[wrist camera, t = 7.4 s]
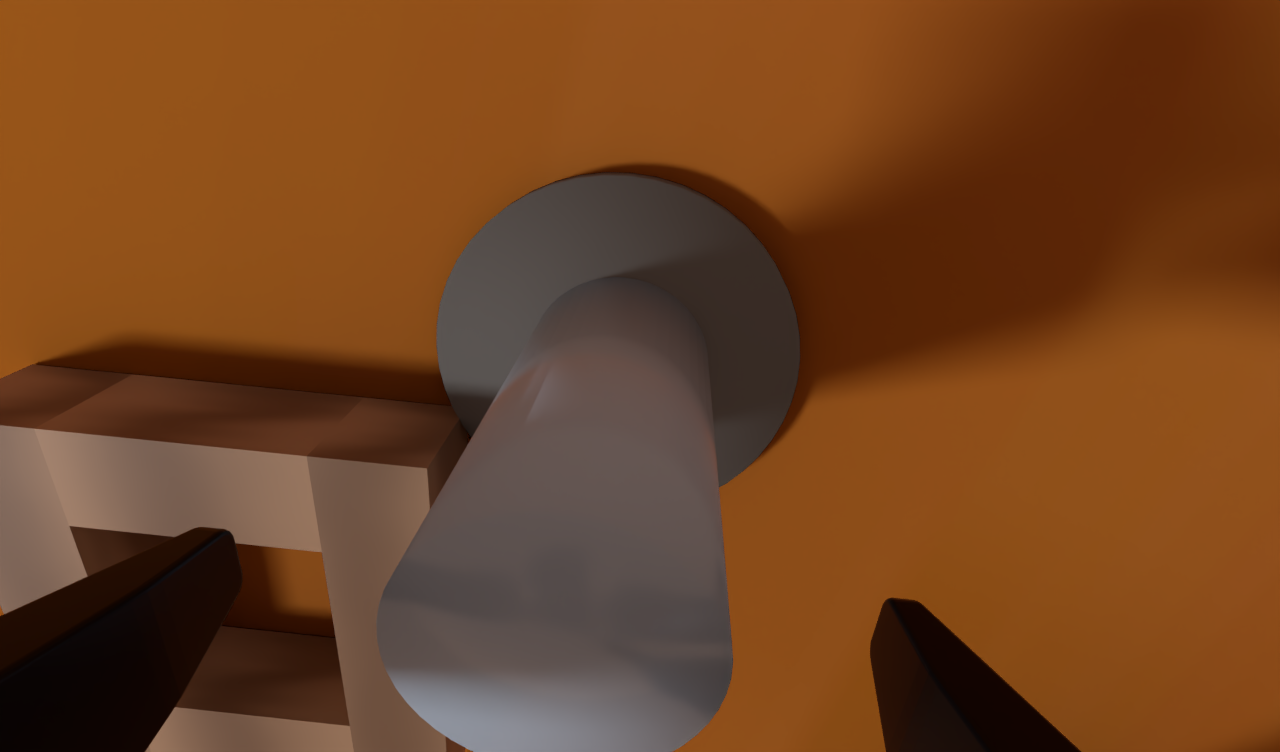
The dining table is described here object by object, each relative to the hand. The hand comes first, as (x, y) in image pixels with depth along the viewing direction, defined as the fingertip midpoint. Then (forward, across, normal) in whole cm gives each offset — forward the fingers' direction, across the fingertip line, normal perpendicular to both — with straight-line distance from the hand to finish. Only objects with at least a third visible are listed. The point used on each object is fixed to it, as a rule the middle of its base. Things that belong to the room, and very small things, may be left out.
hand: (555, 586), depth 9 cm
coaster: (+8, 0, 0) cm, 9 cm away
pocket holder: (+8, +10, +8) cm, 15 cm away
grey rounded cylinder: (+8, 0, 0) cm, 8 cm away
